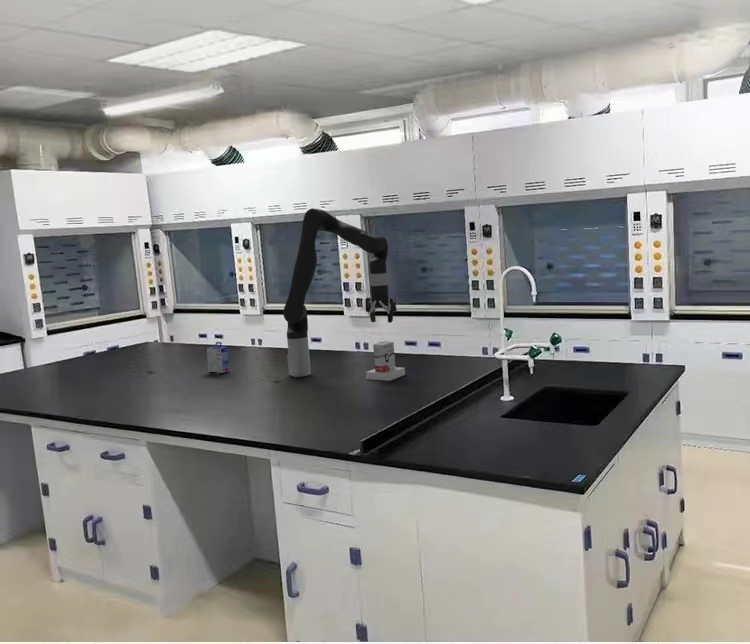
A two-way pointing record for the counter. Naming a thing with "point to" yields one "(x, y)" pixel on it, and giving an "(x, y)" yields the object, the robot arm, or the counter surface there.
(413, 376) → the counter surface
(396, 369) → the stand
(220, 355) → the ink cartridge box
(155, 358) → the counter surface
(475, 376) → the counter surface
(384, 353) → the ink box
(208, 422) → the counter surface
